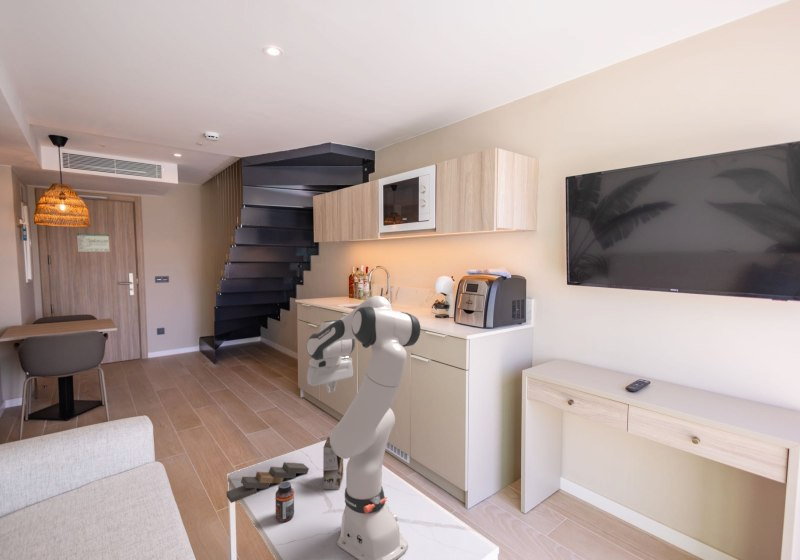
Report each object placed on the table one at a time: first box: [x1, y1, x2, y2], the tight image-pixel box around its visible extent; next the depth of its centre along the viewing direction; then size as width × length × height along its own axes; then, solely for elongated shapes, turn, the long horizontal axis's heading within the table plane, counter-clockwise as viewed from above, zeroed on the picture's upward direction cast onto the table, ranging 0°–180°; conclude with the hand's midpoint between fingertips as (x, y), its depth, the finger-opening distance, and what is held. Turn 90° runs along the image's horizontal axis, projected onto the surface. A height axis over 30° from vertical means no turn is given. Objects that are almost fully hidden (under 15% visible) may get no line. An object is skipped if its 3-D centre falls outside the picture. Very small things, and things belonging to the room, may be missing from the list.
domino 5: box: [281, 461, 310, 475], centre depth 157 cm, size 5×2×9 cm
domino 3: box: [254, 471, 284, 484], centre depth 150 cm, size 5×2×9 cm
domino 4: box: [268, 466, 297, 479], centre depth 154 cm, size 5×2×9 cm
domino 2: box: [240, 476, 271, 489], centre depth 147 cm, size 5×2×9 cm
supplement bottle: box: [274, 480, 295, 523], centre depth 131 cm, size 6×6×11 cm
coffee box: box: [322, 436, 344, 490], centre depth 152 cm, size 9×6×16 cm
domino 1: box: [226, 484, 257, 504], centre depth 144 cm, size 5×2×9 cm
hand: (331, 391), depth 163 cm, fingers closed
